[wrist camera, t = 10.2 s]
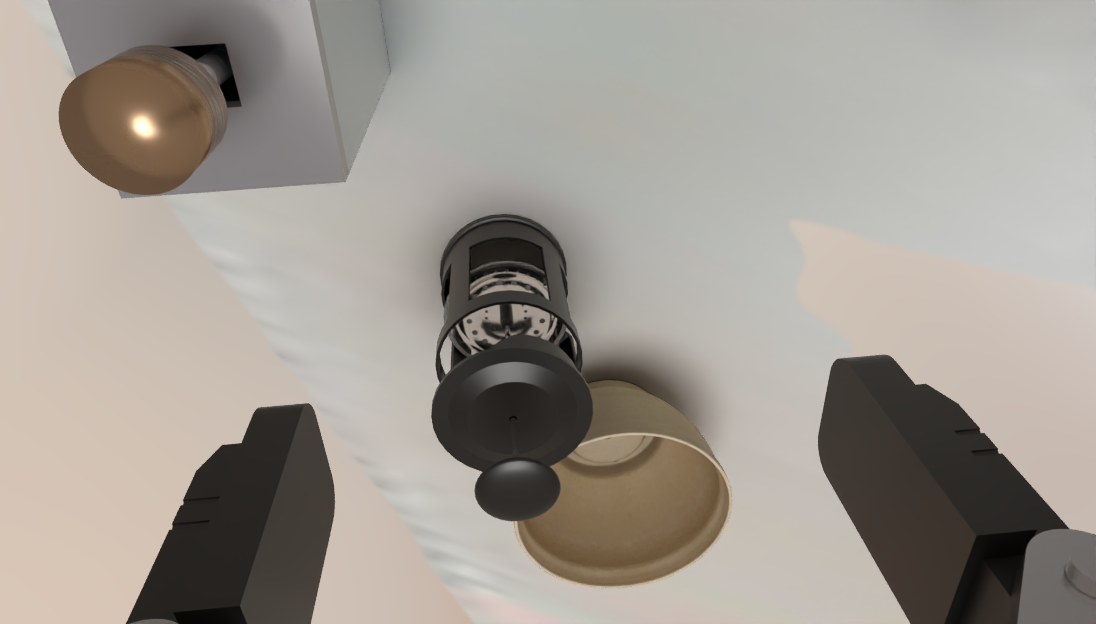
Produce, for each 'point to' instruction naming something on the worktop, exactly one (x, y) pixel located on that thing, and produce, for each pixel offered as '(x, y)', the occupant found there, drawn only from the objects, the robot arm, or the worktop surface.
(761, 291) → the worktop surface
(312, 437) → the robot arm
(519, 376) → the french press
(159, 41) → the block
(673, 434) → the planter bowl
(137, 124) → the plunger
